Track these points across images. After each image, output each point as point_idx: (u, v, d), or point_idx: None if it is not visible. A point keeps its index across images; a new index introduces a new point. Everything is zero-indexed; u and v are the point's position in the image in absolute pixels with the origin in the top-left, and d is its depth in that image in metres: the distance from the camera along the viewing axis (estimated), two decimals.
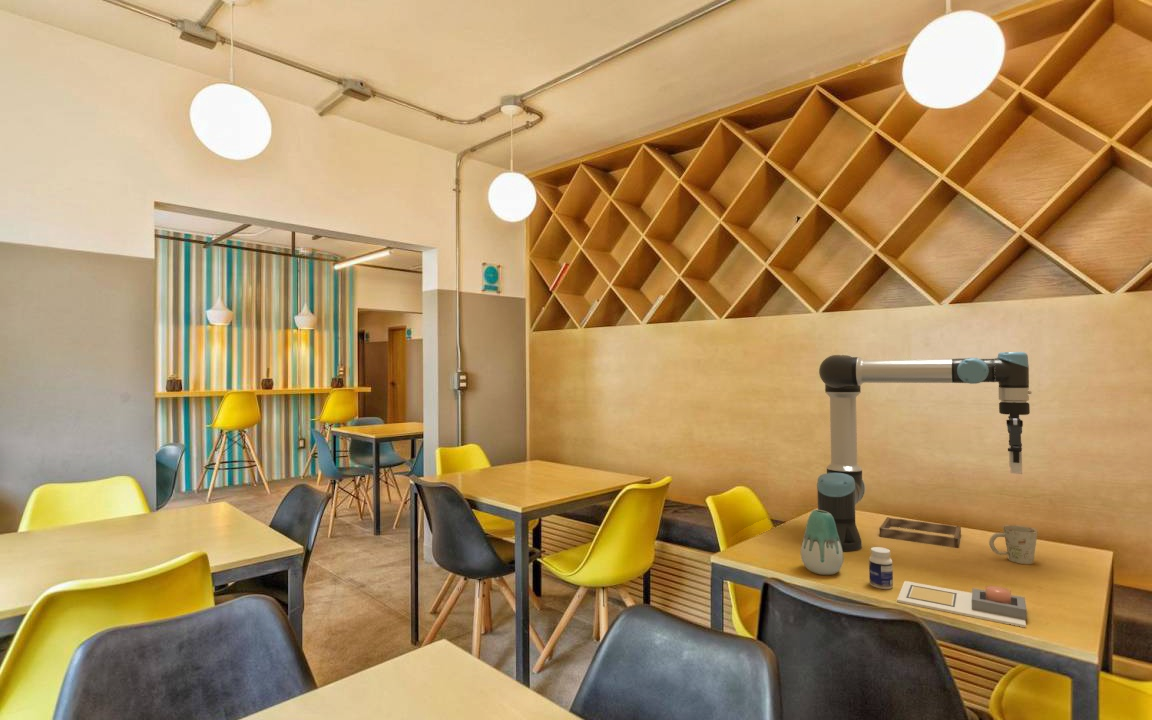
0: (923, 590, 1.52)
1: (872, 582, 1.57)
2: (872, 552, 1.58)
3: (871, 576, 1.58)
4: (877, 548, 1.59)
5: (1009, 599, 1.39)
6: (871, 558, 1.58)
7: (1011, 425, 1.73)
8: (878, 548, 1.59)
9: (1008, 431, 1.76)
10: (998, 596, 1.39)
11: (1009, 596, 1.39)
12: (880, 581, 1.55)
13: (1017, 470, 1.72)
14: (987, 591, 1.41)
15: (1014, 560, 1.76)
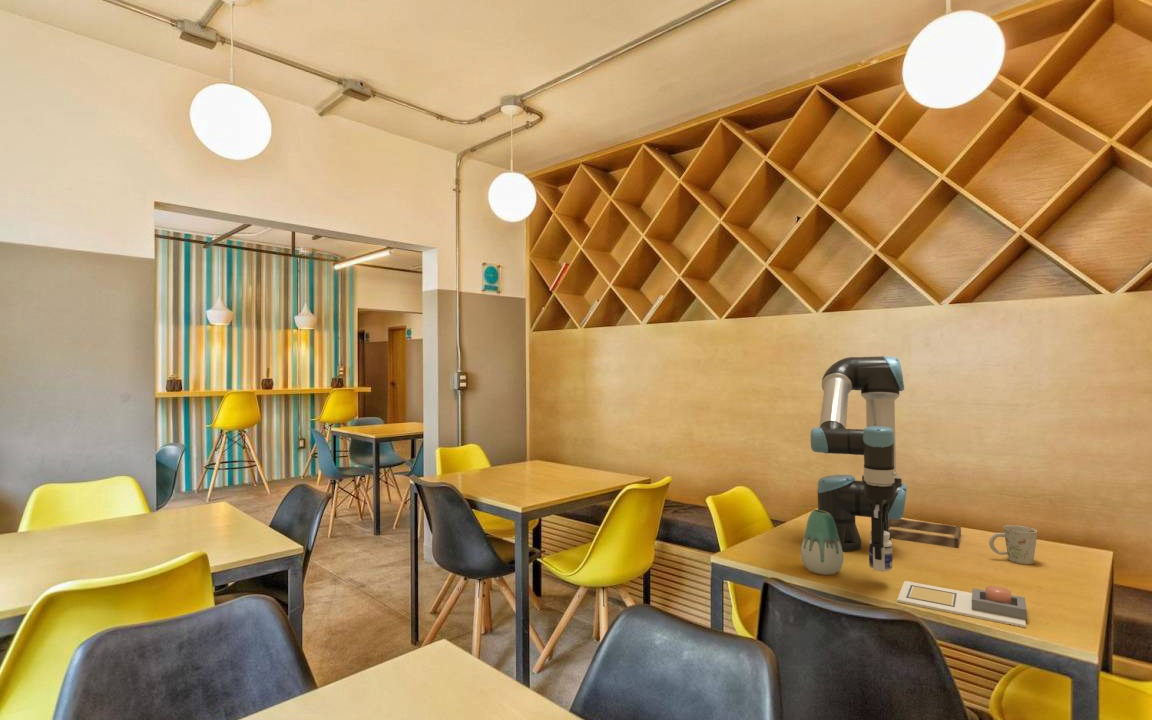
0: (923, 590, 1.52)
1: (872, 565, 1.58)
2: None
3: (870, 558, 1.58)
4: None
5: (1009, 599, 1.39)
6: (871, 541, 1.58)
7: (872, 518, 1.54)
8: None
9: None
10: (998, 596, 1.39)
11: (1009, 596, 1.39)
12: None
13: (879, 567, 1.56)
14: (987, 591, 1.41)
15: (1014, 560, 1.76)
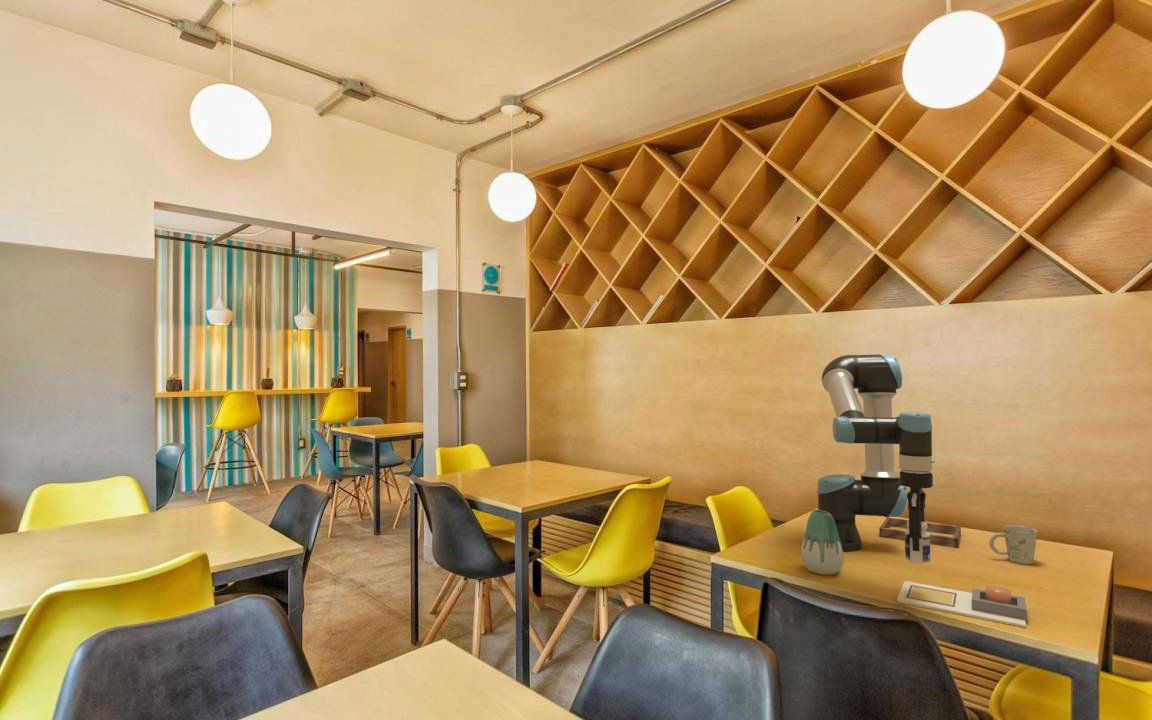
0: (923, 590, 1.52)
1: (908, 557, 1.50)
2: (908, 525, 1.51)
3: (907, 550, 1.51)
4: None
5: (1009, 599, 1.39)
6: (907, 532, 1.51)
7: (909, 507, 1.47)
8: None
9: None
10: (998, 596, 1.39)
11: (1009, 596, 1.39)
12: None
13: (917, 559, 1.48)
14: (987, 591, 1.41)
15: (1014, 560, 1.76)
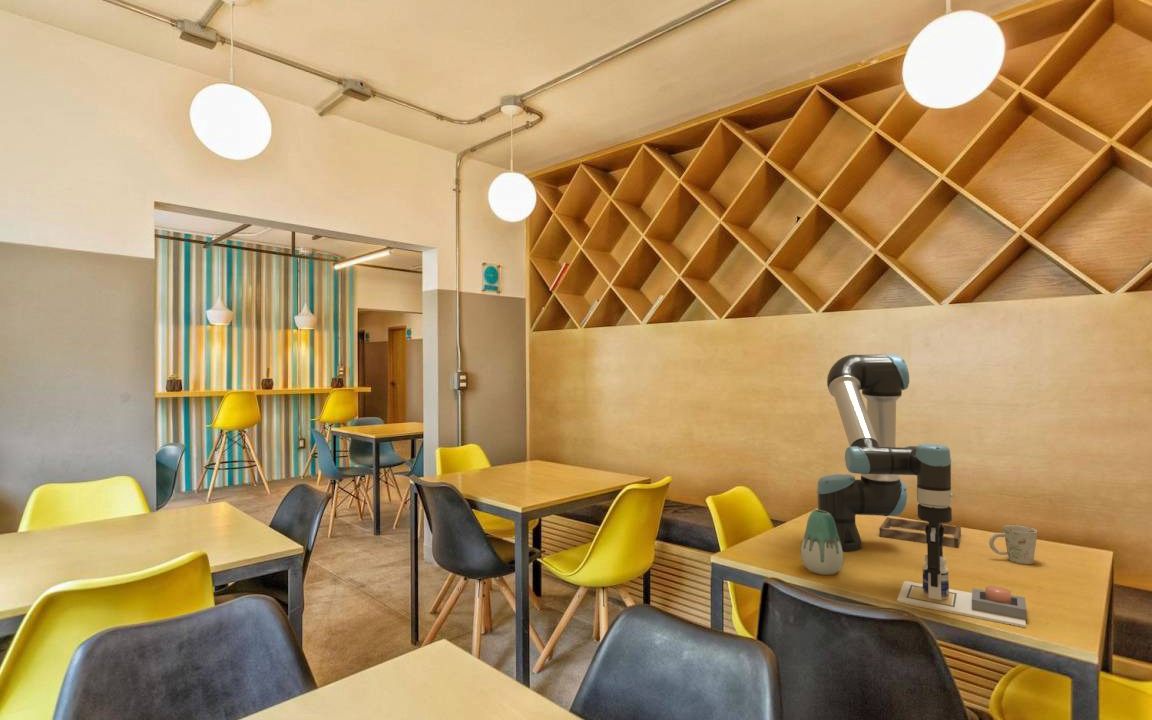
0: None
1: (926, 592, 1.48)
2: (926, 560, 1.49)
3: (925, 585, 1.48)
4: None
5: (1009, 599, 1.39)
6: (925, 567, 1.49)
7: (928, 541, 1.44)
8: None
9: None
10: (998, 596, 1.39)
11: (1009, 596, 1.39)
12: None
13: (935, 595, 1.45)
14: (987, 591, 1.41)
15: (1014, 560, 1.76)
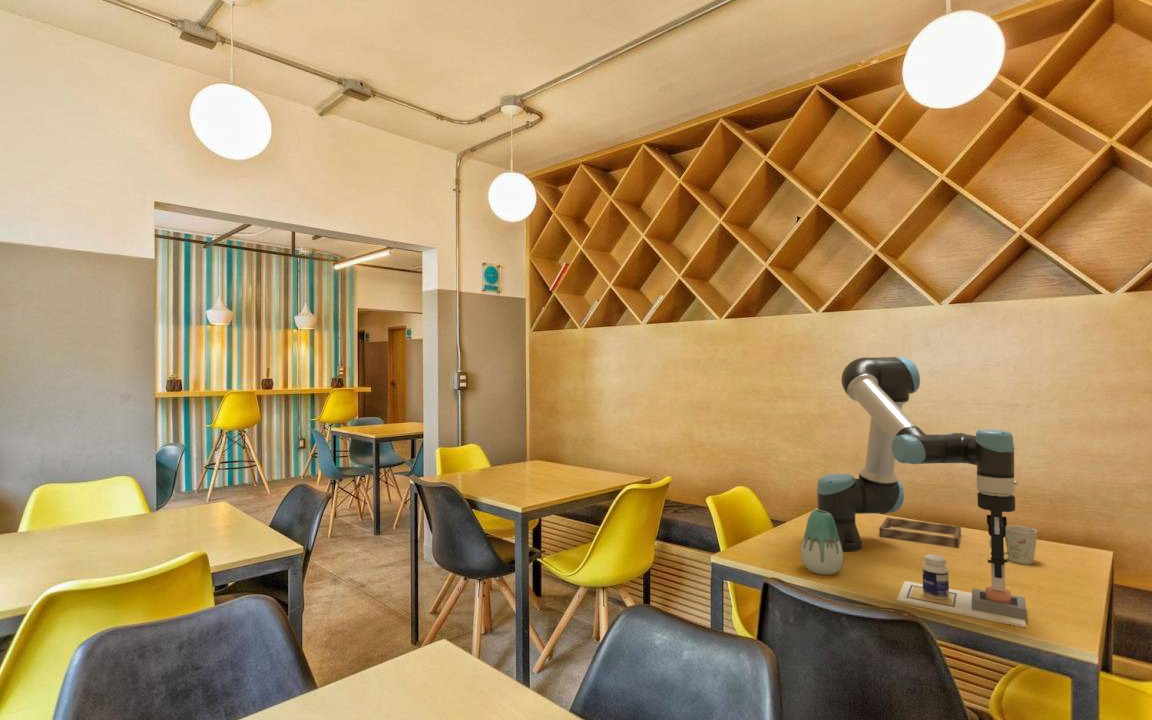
0: None
1: (926, 592, 1.48)
2: (926, 560, 1.49)
3: (925, 585, 1.48)
4: (931, 556, 1.50)
5: (1009, 600, 1.39)
6: (925, 567, 1.49)
7: (992, 535, 1.38)
8: (932, 555, 1.50)
9: None
10: (998, 596, 1.39)
11: (1009, 597, 1.39)
12: (935, 591, 1.46)
13: (999, 586, 1.40)
14: (987, 592, 1.41)
15: (1014, 560, 1.76)
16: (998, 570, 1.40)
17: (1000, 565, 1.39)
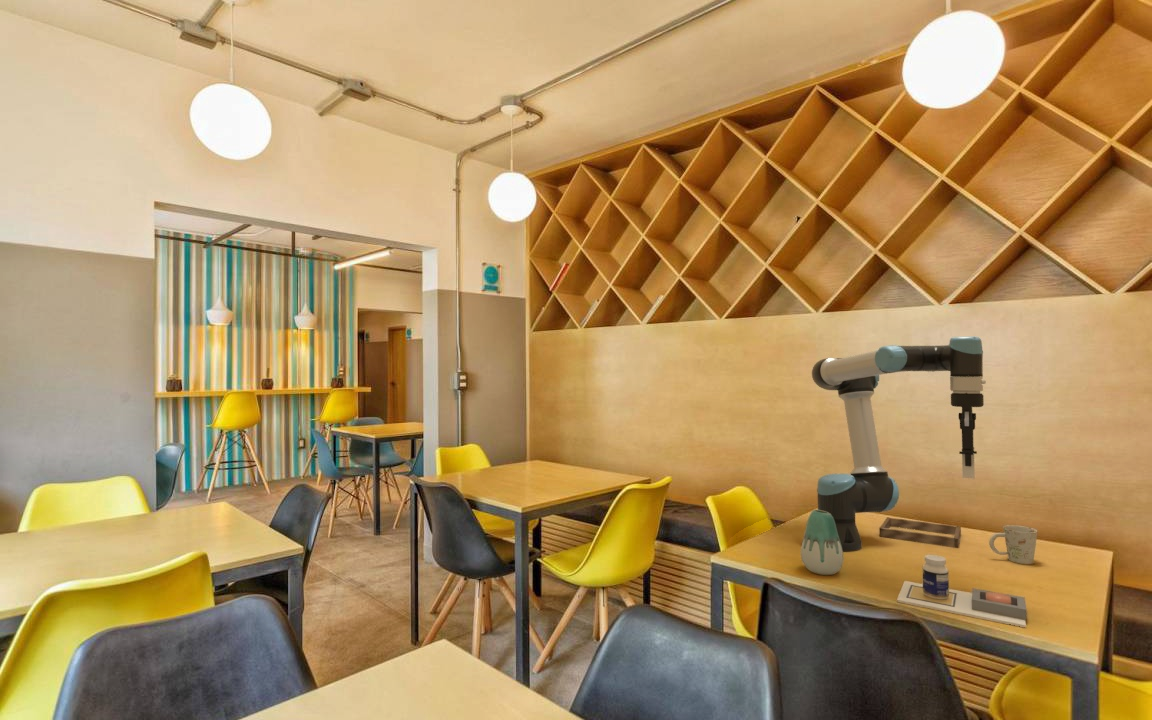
0: None
1: (926, 592, 1.48)
2: (926, 560, 1.49)
3: (925, 585, 1.48)
4: (931, 556, 1.50)
5: None
6: (925, 567, 1.49)
7: (962, 426, 1.55)
8: (932, 555, 1.50)
9: (960, 428, 1.59)
10: (999, 602, 1.39)
11: (1009, 602, 1.39)
12: (935, 591, 1.46)
13: (969, 474, 1.58)
14: (987, 597, 1.41)
15: (1014, 560, 1.76)
16: (968, 459, 1.57)
17: (970, 454, 1.57)
